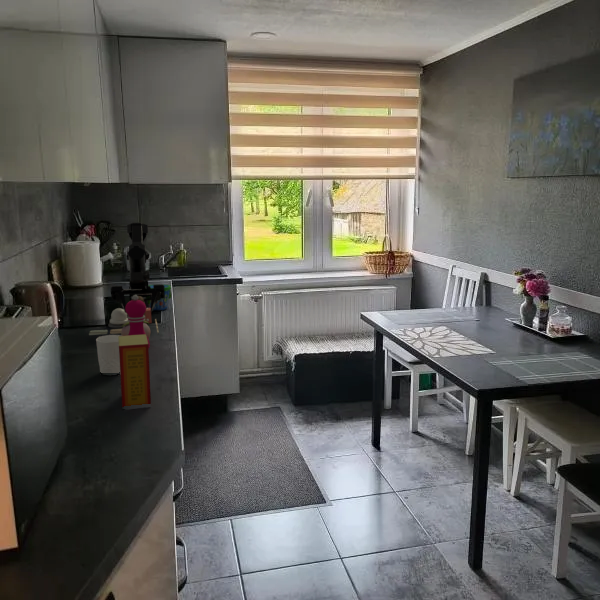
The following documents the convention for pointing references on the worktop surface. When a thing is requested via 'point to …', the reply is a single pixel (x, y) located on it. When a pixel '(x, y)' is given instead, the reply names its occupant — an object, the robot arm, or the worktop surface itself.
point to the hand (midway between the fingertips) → (138, 311)
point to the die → (148, 315)
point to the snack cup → (162, 299)
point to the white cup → (108, 353)
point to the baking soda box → (134, 370)
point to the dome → (119, 316)
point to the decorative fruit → (127, 328)
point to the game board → (113, 331)
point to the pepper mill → (136, 316)
